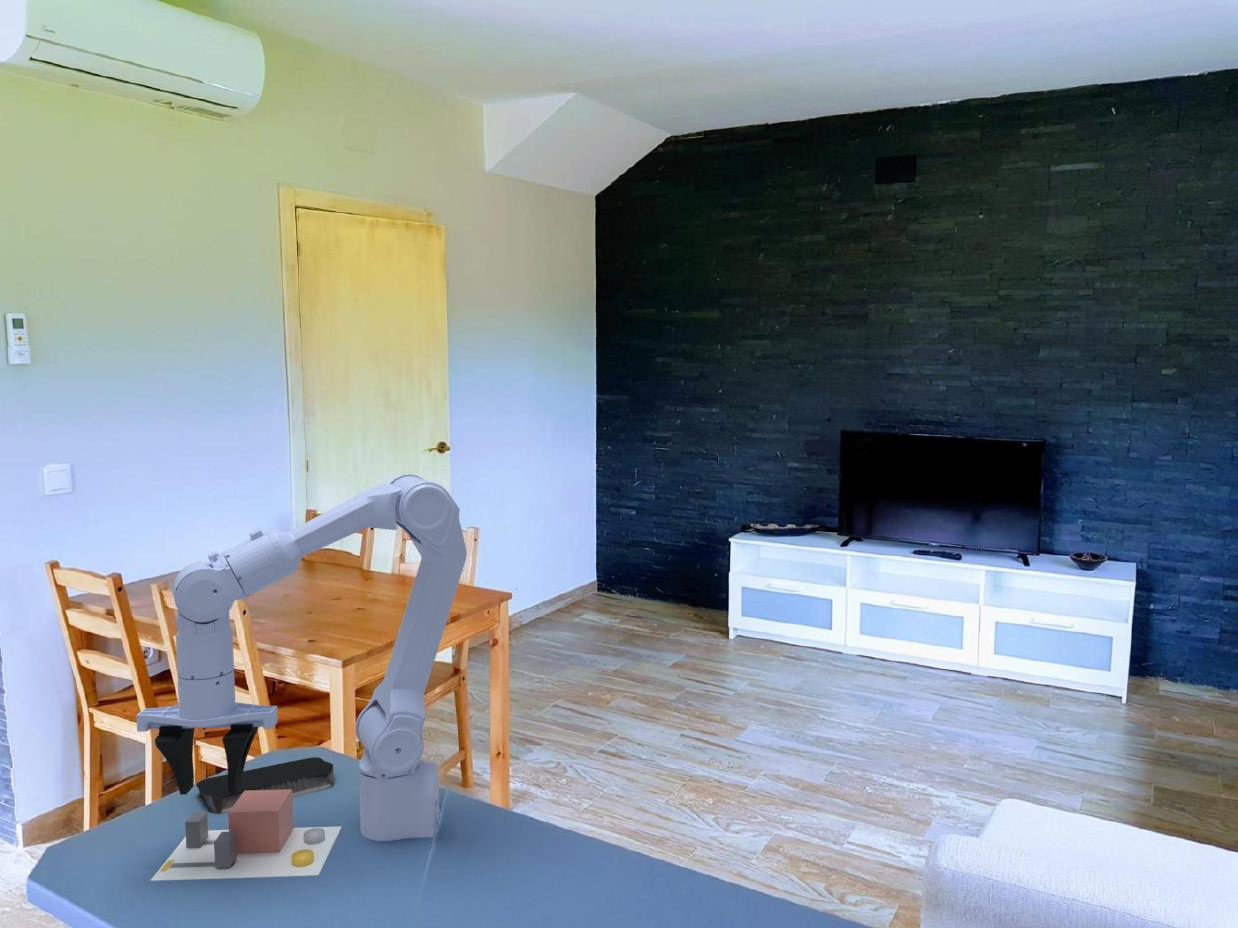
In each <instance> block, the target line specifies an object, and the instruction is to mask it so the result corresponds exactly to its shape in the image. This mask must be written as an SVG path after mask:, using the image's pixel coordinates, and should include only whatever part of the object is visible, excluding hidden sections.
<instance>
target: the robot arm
mask: <svg viewBox="0 0 1238 928" xmlns="http://www.w3.org/2000/svg"><path fill="white" fill-rule="evenodd" d="M460 512H461V511H460V507H459V506H458V504H457V503H456V501H455V499H454V498H453V497H452V496H451V495H450V493H449V492H448V490H447V489H446V488H445V487H444V486H442V485H441V484H439V483H437V482H435V481H428V480H426V479H424V478H423V477H420V475H416V474H410V473H409V474H407V473H406V474H401V475H399V476H396V477H394V478H393V479H391V481H390V482H388V481H385V482H382V483H378V484H376V485H373V486H371V487H370V488H367V489H366V490H364V491H362V492H360V493H358V494H356V495H355V496H353V497H351V498H349V499H347V500H345V501H344V502H342V503H339V504H338V505H336V506H334V507H333V508H331V509H328V510H327V511H325V512H323V513H321V514H320V515H318V516H316V517H314V518H312V519H310V520H308V521H306V522H305V523H303V524H301V525H299V526H298V527H296V528H293V529H291V530H289V531H284V530H280V529H278V528H269V529H267V530H265V531H262V529H261V528H257V529H254V530H252V531H250V532H249V534H248V535H249V536H250V538H249V539H247V540H244V541H243V542H240V543H238V544H236V545H234V546H232V547H230V548H228V549H225V550H224V551H223V552H222V551H221V552H220V553H218V551H216V550H214V551H212V552H210V553H207V558H208V560H209V561H201V560H200V561H196V562H194V561H193V562H191V563H189V564H187V565H185V566H184V567H183V568H182V569H181V570H180V571H179V573H178V574H177V575H176V576H175V579H174V580H173V584H172V585H173V586H172V587H171V593H172V596H173V600H174V603H175V607H176V609H177V615H176V617H175V624H176V625H175V626H176V628H177V632H176V633H175V647H176V648H175V649H176V653H175V654H176V670H177V692H178V693H177V694H178V695H177V696H178V704H177V705H172V706H171V705H170V706H163V707H153V708H150V707H149V708H143V709H142V710H141V711H140V712H138V713H137V714H136V732H137V733H138V732H143V733H144V732H149V730H158V731H159V732H158V734H157V735H158V736H157V737H156V738H155V739H154V744H155V747H156V748H157V750H159V751H160V753H161V754H162V756H163V757H164V759H165V761H166V762H167V763H168V765H169V767H170V769H171V771H172V774H173V776H174V779H175V782H176V784H177V787H178V791H179V794H180V796H182V795H187V794H188V793H190V791H191V790H192V788H194V783H195V770H194V760H193V759H194V757H193V756H194V755H193V752H194V748H193V747H194V737H195V729H215V728H216V729H218V728H225V729H226V728H230V730H228V731H227V733H226V734H224V736H222V744H223V748H224V752H225V756H226V757H225V758H226V765H227V774H228V791H229V793H236V792H237V791H238V789H239V788H240V787H241V782H242V775H243V771H245V765H246V761H247V758H248V754H249V751H250V749H251V747H252V744H253V743H254V742H253V741H254V739H255V737H256V734H257V732H258V730H259V729H260V728H262V729H264V730H272V729H273V728H275V726H276V725H277V724H278V705H260V704H252V703H244V702H236V686H235V685H236V684H235V681H236V680H235V663H234V661H235V659H234V636H233V634H234V633H233V631H234V630H233V627H231V623H230V622H231V621H230V610H231V609H232V607H233V605H234V602H235V601H237V600H239V601H240V600H242V601H243V600H245V599H246V598H247V597H248V598H249V597H250V596H252V595H254V594H257V593H259V592H260V591H262V590H264V589H266V588H268V587H270V586H272V585H274V584H276V583H278V582H280V581H282V580H284V579H285V578H287V577H289V576H291V575H293V574H295V573H296V572H297V570H298V568H299V564H300V562H301V560H302V558H303V557H305V556H308V555H310V554H311V553H314V552H317V551H319V550H321V549H322V548H326V547H327V546H329V545H331V544H334V543H336V542H338V541H340V540H342V539H345V538H347V537H349V536H351V535H353V534H356V533H358V532H361V531H362V530H365V529H368V528H369V529H371V528H372V529H379V530H392V531H397V530H398V527H399V528H401V529H402V530H403V531H404V532H405V533H407V535H408V536H409V539H410V540H411V542H412V544H413V546H415V548H416V550H417V552H418V553H419V555H420V557H421V560H420V562H419V565H418V568H417V572H416V574H415V578H414V581H413V585H412V587H411V591H410V595H409V597H408V600H407V604H406V607H405V610H404V614H403V616H402V620H401V623H400V626H399V629H398V632H397V633H398V634H397V636H396V639H395V642H394V645H393V648H392V652H391V655H390V659H389V661H388V664H387V668H386V671H385V674H384V677H383V680H381V682H380V684H379V685H377V687H375V689H374V691H373V694H372V696H371V699H370V701H369V702H368V704H367V705H366V706H365V707H364V708H363V709H362V710H361V712H360V713H359V715H358V717H357V719H356V722H355V734H356V737H357V740H358V741H359V742H360V743H361V745H362V746H363V748H364V751H363V754H362V757H361V758H360V760H359V763H358V777H359V778H358V780H359V781H358V783H359V785H358V786H359V816H360V817H359V821H360V822H359V825H360V833H361V835H362V836H363V837H365V838H366V839H368V840H371V841H376V842H393V841H398V840H404V839H421V838H425V839H426V838H432V841H431V844H430V849H433V847H434V844H435V840H436V835H437V833H438V829H439V825H440V821H441V809H440V775H439V773H440V772H439V765H438V763H437V762H436V763H435V762H429V761H427V762H426V761H423V760H421V759H422V756H423V754H424V750H425V749H424V748H425V744H424V743H425V741H424V737H423V728H424V724H425V721H426V707H425V706H426V705H425V692H426V689H427V685H428V683H429V679H430V676H431V673H432V669H433V667H434V664H435V660H436V657H437V653H438V650H439V647H440V645H441V642H442V641H441V640H442V639H443V635H444V631H445V629H446V628H445V627H446V625H447V622H448V618H449V615H450V611H451V608H452V606H453V603H454V599H455V596H456V593H457V590H458V587H459V583H460V580H461V576H462V574H463V570H464V567H465V564H466V560H467V555H468V554H467V553H468V551H467V546H466V543H465V538H464V534H463V530H462V529H463V528H462V525H461V521H460Z"/></svg>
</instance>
